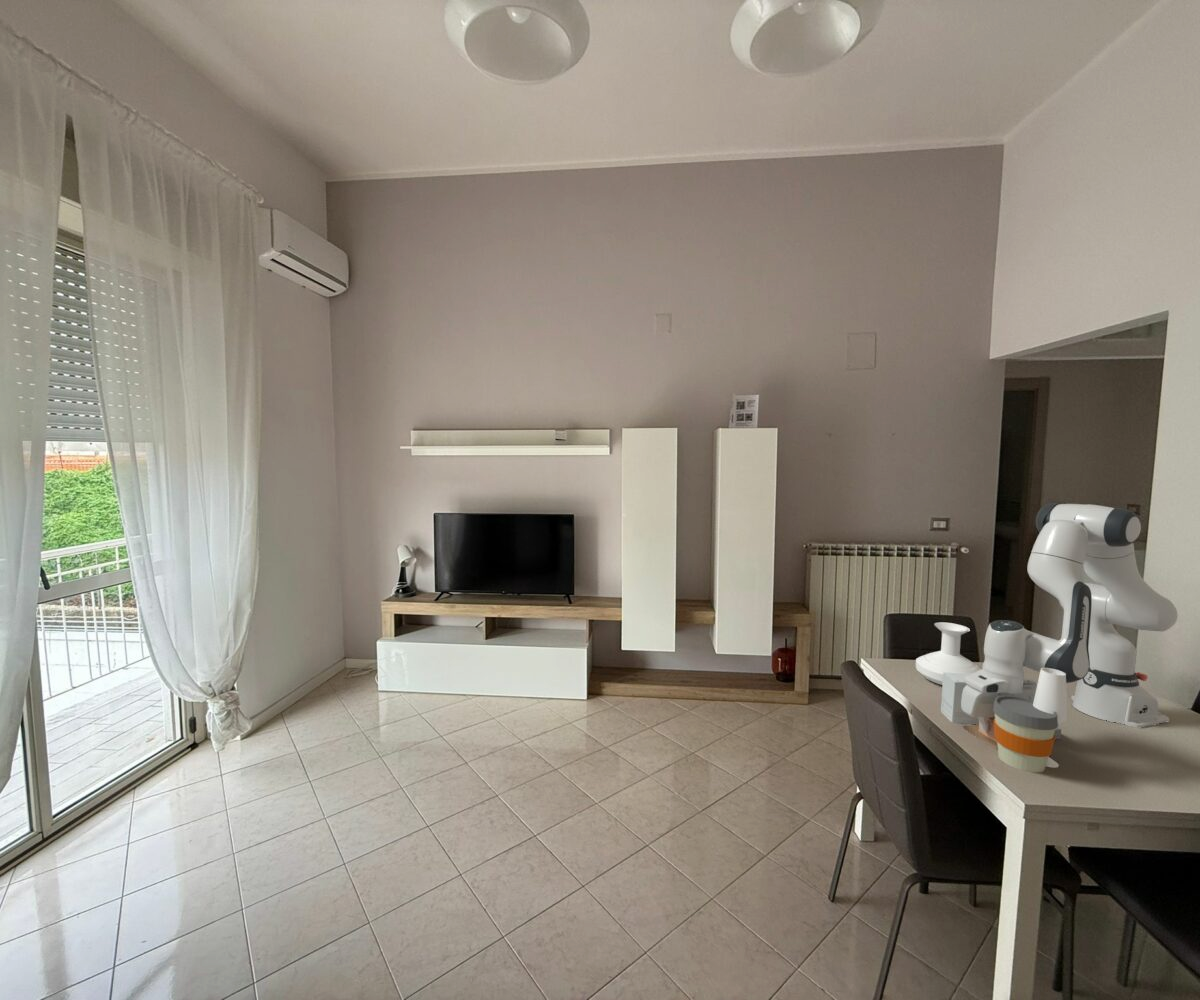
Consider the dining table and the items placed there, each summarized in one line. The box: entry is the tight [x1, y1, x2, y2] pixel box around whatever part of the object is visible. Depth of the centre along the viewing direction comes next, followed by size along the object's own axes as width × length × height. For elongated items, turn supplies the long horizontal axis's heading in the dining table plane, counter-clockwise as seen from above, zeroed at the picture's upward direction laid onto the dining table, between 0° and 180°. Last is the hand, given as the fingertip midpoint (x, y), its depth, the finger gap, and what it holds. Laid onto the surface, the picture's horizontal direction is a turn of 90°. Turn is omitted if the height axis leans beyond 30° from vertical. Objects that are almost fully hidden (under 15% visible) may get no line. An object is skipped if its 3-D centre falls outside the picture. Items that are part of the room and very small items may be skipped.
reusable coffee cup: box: [993, 696, 1059, 774], centre depth 128 cm, size 12×13×15 cm
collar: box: [979, 717, 997, 742], centre depth 140 cm, size 6×8×4 cm
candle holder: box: [915, 621, 982, 686], centre depth 177 cm, size 20×20×19 cm
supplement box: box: [940, 672, 979, 725], centre depth 151 cm, size 7×7×13 cm
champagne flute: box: [1033, 668, 1068, 768], centre depth 128 cm, size 7×7×24 cm
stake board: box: [962, 724, 998, 751], centre depth 140 cm, size 10×11×1 cm
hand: (998, 729), depth 139 cm, fingers closed on collar, 6 cm apart
